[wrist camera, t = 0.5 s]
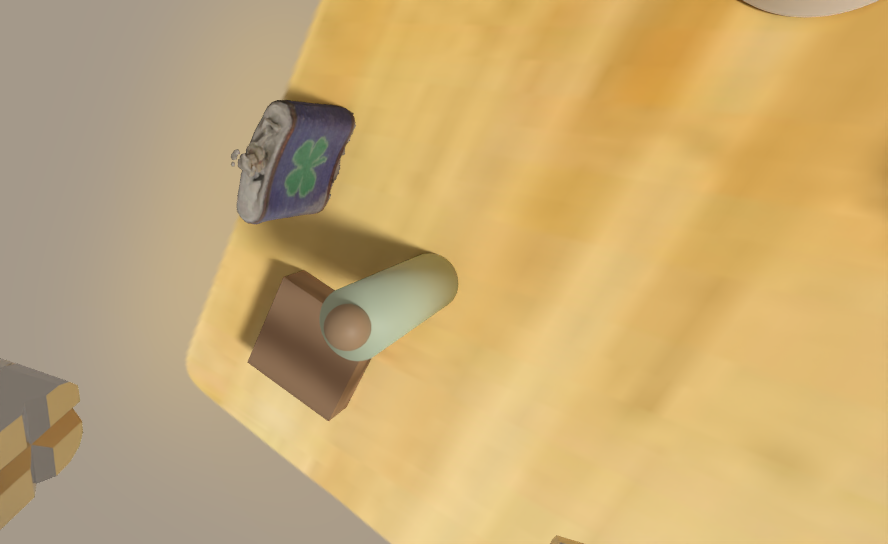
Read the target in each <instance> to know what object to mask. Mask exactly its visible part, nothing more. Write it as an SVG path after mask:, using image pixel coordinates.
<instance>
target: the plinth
mask: <svg viewBox="0 0 888 544" xmlns="http://www.w3.org/2000/svg"><path fill="white" fill-rule="evenodd" d="M332 292H334V290H333V289H331V288H330V287H328V286H327V285H325V284H324V283H322V282H321V281H319V280H318V279H316V278H315V277H313V276H312V275H310V274H309V273H307V272H306V271H301V272H297V273H294V274H291V275H288V276H285V277H284V278H283V280H282V282H281V285H280V287H279V289H278V292H277V294H276V296H275V299H274V301H273V303H272V306H271V308H270V310H269V313H268V315H267V318H266V320H265V322H264V325H263V327H262V329H261V332H260V334H259V336H258V339H257V341H256V343H255V346H254V348H253V350H252V353H251V355H250V357H249V360H248V363H249V364H250V365H252V366H253V367H255V368H256V369H257V370H259V371H260V372H261V373H263V374H264V375H266V376H267V377H268V378H270V379H271V380H272V381H274V382H275V383H277V384H278V385H279V386H281V387H282V388H283V389H285V390H286V391H288V392H289V393H290V394H292V395H293V396H294V397H296V398H297V399H299V400H300V401H301V402H303V403H304V404H305V405H307V406H308V407H310V408H311V409H312V410H314V411H315V412H316V413H318V414H319V415H321V416H322V417H323V418H325V419H326V420H327V421H330V420H331V419H332V418H333V417H335V416H336V415H337V414H338V413H340V412H341V411H342V410H343V409H345V408H346V407H347V405H348V403H349V401H350V399H351V397H352V395H353V393H354V391H355V389H356V387H357V385H358V383H359V381H360V379H361V377H362V375H363V374H364V372H365V370H366V368H367V366H368V364H369V362H370V360H371V358H370V359H368V360H364V361H352V360H348V359H345V358H343V357H341V356H339V355H338V354H337V353H335V352H334V351H333V350H332V349H331V348H330V347H329V345H328V344H327V343H326V341H325V339H324V337H323V335H322V332H321V328H320V320H319V317H320V311H321V307H322V304H323V303H324V301H325V299H326V298H327V297H328V296H329V295H330V294H331V293H332Z"/></svg>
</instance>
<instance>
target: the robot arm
mask: <svg viewBox="0 0 888 544" xmlns="http://www.w3.org/2000/svg"><path fill="white" fill-rule="evenodd" d="M743 1H745V2H746V3H748V4H750V5H752V6H754V7H757V8H759V9H761V10H764V11H767V12H771V13H775V14H779V15H784V16H792V17H821V16H829V15H835V14H840V13H844V12H848V11H852V10H855V9H858V8H861V7H864V6H866V5H869V4H871V3H874V2H876V1H878V0H743ZM79 402H80V397H79V390H78V386H77V385H75V384H73V383H71V382H68V381H66V380H63V379H60V378H57V377H54V376H51V375H48V374H45V373H43V372H40V371H37V370H34V369H31V368H28V367H25V366H22V365H20V364H15V363H13V362H10V361H7V360H4V359H1V358H0V530H1V529H2V528H3V527H4V526H5V525H6V524H7V523H8V522H9V521H10V520H11V519H12V518H13V517H14V516H15V515H16V514H18V513H19V512H20V511H21V510H22V509H23V508H24V507H25V506H26V505H27V504H28V503H29V502H30V501H31V500H32V499H33V498H34V497H35V491H36V484H37V483H39V482H42V481H45V480H47V479H50V478H52V477H55V476H57V475H58V474H59V473H60V472H61V471H62V470H63V469H64V467H66V466H67V465H68V463H69V462H70V461H71V459H72V458H73V456H74V454H75V453H76V451H77V449H78V447H79V445H80V442H81V438H82V433H83V429H82V421H81V419H80V418H79V416H78V415H77V414H76V412H75V411H74V409H73V407H74V406H75V405H77V404H78V403H79ZM550 544H583V543H580V542H577V541H574V540H570V539H567V538H564V537H560V536H557V535H556V536H555V537H554V538H553V539H552V541H551V543H550Z"/></svg>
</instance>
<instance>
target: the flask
mask: <svg viewBox="0 0 888 544" xmlns="http://www.w3.org/2000/svg"><path fill="white" fill-rule="evenodd" d="M355 126H356V125H355V118H354V116H353V113H351V112H350V111H349V110H347V109H346V108H343V107H339V106H335V105H326V104H313V103H306V102H297V101H290V100H277V101H274V102H272V103H271V104H270V105H269V106H268V107H267V109H266V110H265V112H264V115H263V117H262V119H261V121H260V122H259V124H258V126H257V128H256V130H255V132H254V134H253V137H252V140H251V142H250V144H249V146H248V147H247V149H246V153H245V154H241V156H240V159H239V160H238V167H239V168H240V169H241V170H242V173H241V179H240V186H239V191H238V201H237V212H238V213H239V215H240V217H241V218H242V219H243V220H244V221H245V222H247V223H251V224H259V223H262V222H265V221H269V220H275V219H281V218H288V217H293V216H299V215H306V214H314V213H318V212H320V211H322V210H323V209H324V207H325V206H326V204H327V202H328V200H329V199H330V196H331V194H329V192H330V189H331V187H332V184H333V183H334V180H336V178H337V175H338V174H339V170H340V166H341V165H339V164H340V158H341V156H342V155H344V154H345V153H344V152H345V146H346V144H347V143H348V141H350V137H351V135H352V133H353V130H354V128H355ZM238 154H240V152H239V150H234V152H233V153H232V154H231V158H232V160H235V159H236V158H237V155H238ZM231 165H232V166H234V165H235V163H234V162H232V164H231Z"/></svg>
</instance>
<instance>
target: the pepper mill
mask: <svg viewBox="0 0 888 544" xmlns="http://www.w3.org/2000/svg"><path fill="white" fill-rule="evenodd" d="M457 290H458V277H457V274H456V271H455V269H454V267H453V266H452V264H451V263H450V262H449V261H448V260H447V259H445V258H444V257H442V256H440V255H438V254H434V253H426V254H422V255H419V256H416V257H414V258H412V259H409V260H407V261H404V262H402V263H400V264H397V265H395V266H393V267H390V268H388V269H385V270H383V271H381V272H378V273H376V274H373V275H371V276H369V277H366V278H364V279H361V280H359V281H357V282H354V283H352V284H349V285H347V286H345V287H342V288H340V289H338V290H336V291H334V292H332V293H331V294H330V295H329V296H328V297H327V298H326V299H325V301H324V303H323V304H322V307H321V311H320V317H319V320H320V328H321V332H322V335H323V337H324V339H325V341H326V343H327V344H328V345H329V347H330V348H331V349H332V350H333V351H334V352H335V353H337V354H338V355H339V356H341V357H343V358H345V359H348V360H352V361H364V360H368V359H370V358H372V357H374V356H375V355H377V354H378V353H379V352H381V351H382V350H384V349H385V348H387V347H388V346H389V345H391V344H392V343H394V342H395V341H397V340H398V339H399V338H401V337H402V336H404V335H405V334H407V333H408V332H409V331H411V330H412V329H414V328H415V327H417V326H418V325H419V324H421V323H422V322H424V321H425V320H427V319H428V318H429V317H431V316H432V315H434V314H435V313H437V312H438V311H439V310H441V309H442V308H444V307H445V306H447V305H448V304H449V303H450V302H451V301H452V300H453V299H454V297H455V295H456V293H457Z"/></svg>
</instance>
